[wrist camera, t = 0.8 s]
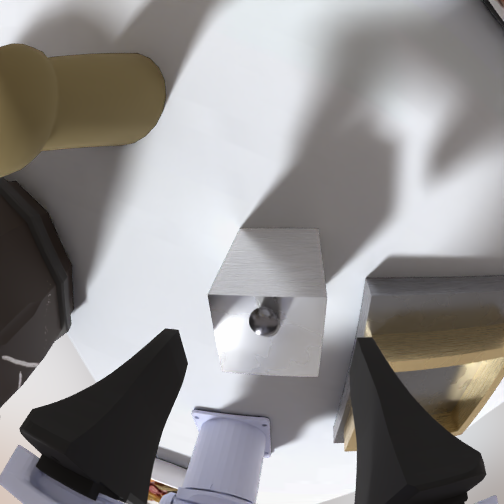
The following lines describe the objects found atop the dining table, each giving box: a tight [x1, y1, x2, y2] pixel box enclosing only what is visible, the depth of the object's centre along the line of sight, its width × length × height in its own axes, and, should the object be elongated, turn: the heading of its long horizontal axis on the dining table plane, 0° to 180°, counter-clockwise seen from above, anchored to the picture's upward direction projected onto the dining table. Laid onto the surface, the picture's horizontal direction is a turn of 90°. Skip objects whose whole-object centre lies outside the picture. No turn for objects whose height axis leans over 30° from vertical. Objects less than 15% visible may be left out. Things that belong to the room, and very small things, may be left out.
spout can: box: [208, 228, 327, 377], centre depth 15 cm, size 5×5×8 cm
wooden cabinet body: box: [333, 276, 504, 451], centre depth 19 cm, size 18×13×4 cm
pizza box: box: [147, 458, 187, 504], centre depth 40 cm, size 30×30×8 cm
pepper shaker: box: [0, 44, 166, 178], centre depth 10 cm, size 6×6×11 cm
